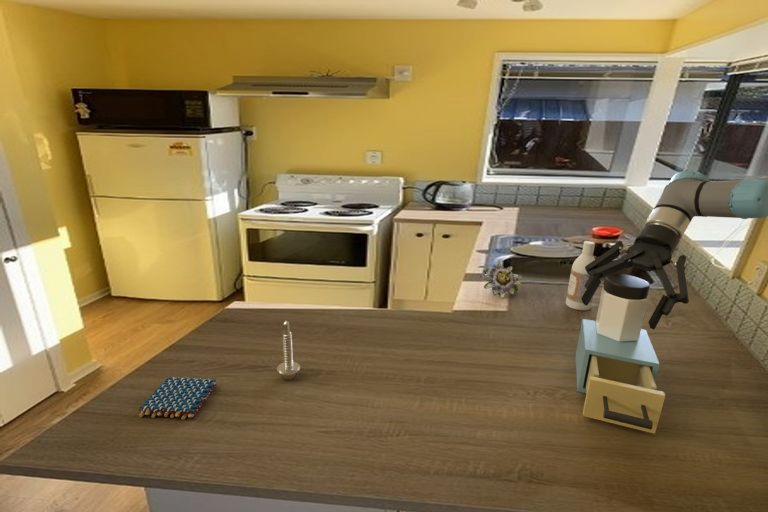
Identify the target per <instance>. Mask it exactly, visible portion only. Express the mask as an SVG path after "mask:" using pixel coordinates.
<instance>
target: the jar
mask: <svg viewBox="0 0 768 512" xmlns="http://www.w3.org/2000/svg"><path fill="white" fill-rule="evenodd" d="M650 286H651V285H650V283H649V282H648V281H646V280H645V279H643V278H641V277H637V276H634V275H629V274H623V273H622V274H621V273H612V274H610V275H607V276H605V277H604V280H603V286H602V288H601V292H600V298H599V302H598V303H599V304H598V308H597V313H596V319H595V321H596V323H595V325H596V330H597V333H598V334H600V335H603V336H605V337H608V338H610V339H613V340H615V341H618V342H624V341H638V340H639V336H640V332H641V329H643V325H644V318H645V315H646V311H647V307H648V303H649V299H648V295H649V291H650Z"/></svg>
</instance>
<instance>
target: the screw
mask: <svg viewBox="0 0 768 512" xmlns="http://www.w3.org/2000/svg"><path fill="white" fill-rule="evenodd" d="M292 336H293V335H292V331H291V325H290V321H287V320H285V321H284V322H283V330H282V349H283V350H282V351H283V362H282V363H280V364H279V365H278V366H277V367H276V372H277V374H278V375H280V376H282V378H283V379H284V380H285V381H291V380H293V379H295V378H296V377H297V374H298V373H299V372H300V371H301V368H302V366H301V365H300V364H299V362H296V361H294V355H293V354H294V352H293V337H292Z"/></svg>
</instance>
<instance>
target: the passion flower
mask: <svg viewBox="0 0 768 512" xmlns="http://www.w3.org/2000/svg"><path fill="white" fill-rule="evenodd" d="M482 272H483V273H484V274H483V277H484V278H486V279H487V280H489V281H488V282H486V283H485V284H484V285H483V288H484V289H486V290H487V289H490V288H491V292H492V295H493V296H497V295H498V296H499V298H500V299H504V298H505V296H506V293H509V294H510V295H514V294H515V292H516V293H517V292H518V291H519V287H518V286H519V285H521V283H522V282H521V281H520V280H519V279H518V278H519V275H518V274H517V273H514V272H513V266H508V267H505V265H502V262H500V261H497V264H496V265H495V266H494V267H492V268H490V267H486V268H485V269H483V271H482Z"/></svg>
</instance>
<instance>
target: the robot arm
mask: <svg viewBox="0 0 768 512" xmlns="http://www.w3.org/2000/svg"><path fill="white" fill-rule="evenodd" d="M694 217H700V218H701V217H703V218H707V217H711V218H729V219H731V218H732V219H742V220H748V219H763V218H764V219H765V218H767V217H768V175H765V176H761V177H758V178H746V179H745V178H744V179H731V180H730V179H729V180H727V179H726V180H710V179H709V178H708V177H707V176H706V175H705V174H703V173H701V172H699V171H698V172H693V170H682V171H679V172H677V173H675V174H673V176H672V177H671V178H670V180H669V181H668V183H667V184H666V185H665V187H664V188H663V191H662V193H661V195H660V197H659V198H658V201H657V203H656V204H655V206H654V207H653V208H652V210H651V212H650V214H649V215H648V217H647V219H646V220H645V222H644V224H643V226H642V228H641V229H640V231H639V233H638V234H637V236H636V237H635V239H634V242H633V243H632V244H631V245H627V244H625V243H624V242H623V241H622V240H618V241H616V242H615V243H614V245H613V246H612V247H611V248H610V249H608V250H607V251H605V252H604V253H602V254H601V255H600V256H598V257H597V258H595V260H594V261H592V262H591V263H589V264H588V265H586V266H585V269H586V271H587V274H588V275H590V277H589V278H588V280H587V282H586V283H585V288H586V291H585V293H584V294H583V296H582V298H581V300H582V302H583V304H584V305H586V306H587V305H588V304H589V302H590V300H591V298H592V297H593V298H594V295H595V293H596V292H597V290H598V288H599V287H600V285H601V283H602V281H601V279H602V278H605V277H606V276H607V275H610V274H616V273H617V272H620V271H622V270H624V269H630V268H632V267H634V268H635V269H637V270H644V271H646V272H649V273H651V272H654V271H655V273H656V276H657V277H658V278H659V281H660V283H661V285H662V288H663V289H664V292H665V293H666V295H664V294H662V296H661V298H660V300H659V302H658V304H657V305H656V307H655V308H654V311H653V313H652V314H651V316H650V318H649V320H648V325H649V328H650V329H652V330H655V329H656V327H657V326H658V324H659V322H660V320H661V318H662V316H663V315H664V316H665V317H667V316H669V315H670V314H671V312H672V310H673V308H674V306H675V305H676V304H677V303H682V304H686V305H687V304H688V303H689V302H690V299H689V292H688V286H687V285H688V284H687V279H686V278H687V277H686V272H685V271H686V269H687V266H688V260H687V256H686V255H684V254H681V255H679V256H673V254H674V253H675V251H676V249H677V248H678V245H679V244H680V241H681V240H682V238H683V236H684V234H685V233H686V231H687V230H688V227H689V226H690V224H691V223H692V221H693V219H694ZM624 253H626V254H624ZM620 255H622V256H621V257H620V258H619V256H620ZM617 258H618V259H617ZM671 263H672V264H673V265H672V266H673V267H674V268H675V269H676V274H677V282H678V289H679V293H676V291H675V289H674V287H673V285H672V283H671V281H670V279H669V276H668V275H667V273H666V271H665V268H664V267H665V266H667V265H669V264H671Z"/></svg>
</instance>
